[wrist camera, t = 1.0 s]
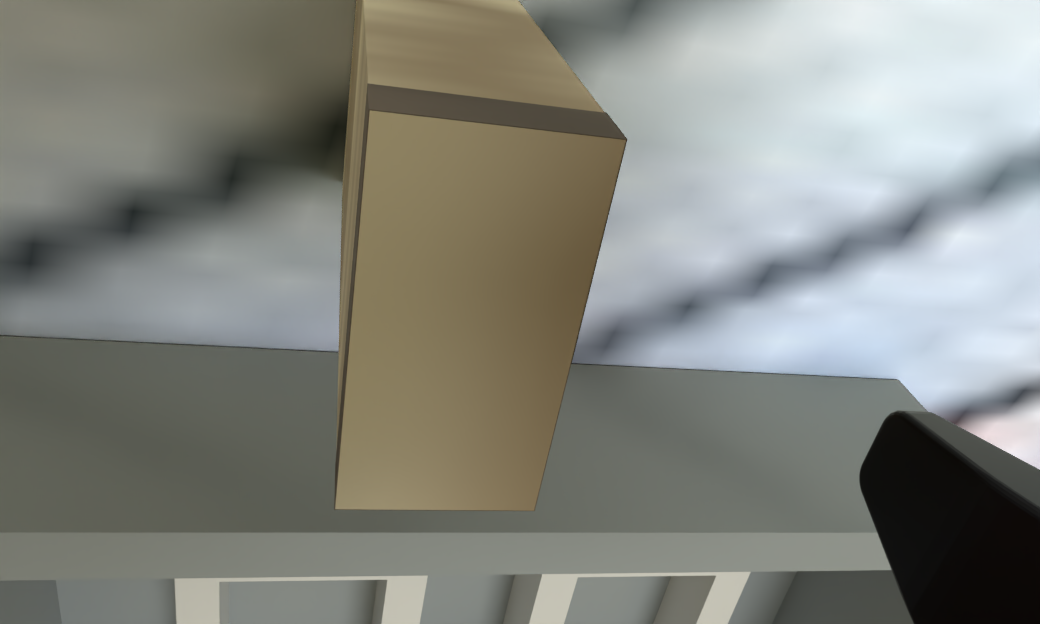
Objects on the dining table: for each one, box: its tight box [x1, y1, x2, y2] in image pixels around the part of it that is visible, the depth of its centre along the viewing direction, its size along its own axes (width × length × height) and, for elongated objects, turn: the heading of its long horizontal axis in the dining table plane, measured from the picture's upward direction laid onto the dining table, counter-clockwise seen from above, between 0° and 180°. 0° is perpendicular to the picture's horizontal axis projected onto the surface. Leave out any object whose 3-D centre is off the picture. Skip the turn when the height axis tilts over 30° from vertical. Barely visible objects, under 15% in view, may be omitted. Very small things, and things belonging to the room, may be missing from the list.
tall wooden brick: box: [334, 0, 627, 511], centre depth 13 cm, size 2×5×10 cm, turn 171°
